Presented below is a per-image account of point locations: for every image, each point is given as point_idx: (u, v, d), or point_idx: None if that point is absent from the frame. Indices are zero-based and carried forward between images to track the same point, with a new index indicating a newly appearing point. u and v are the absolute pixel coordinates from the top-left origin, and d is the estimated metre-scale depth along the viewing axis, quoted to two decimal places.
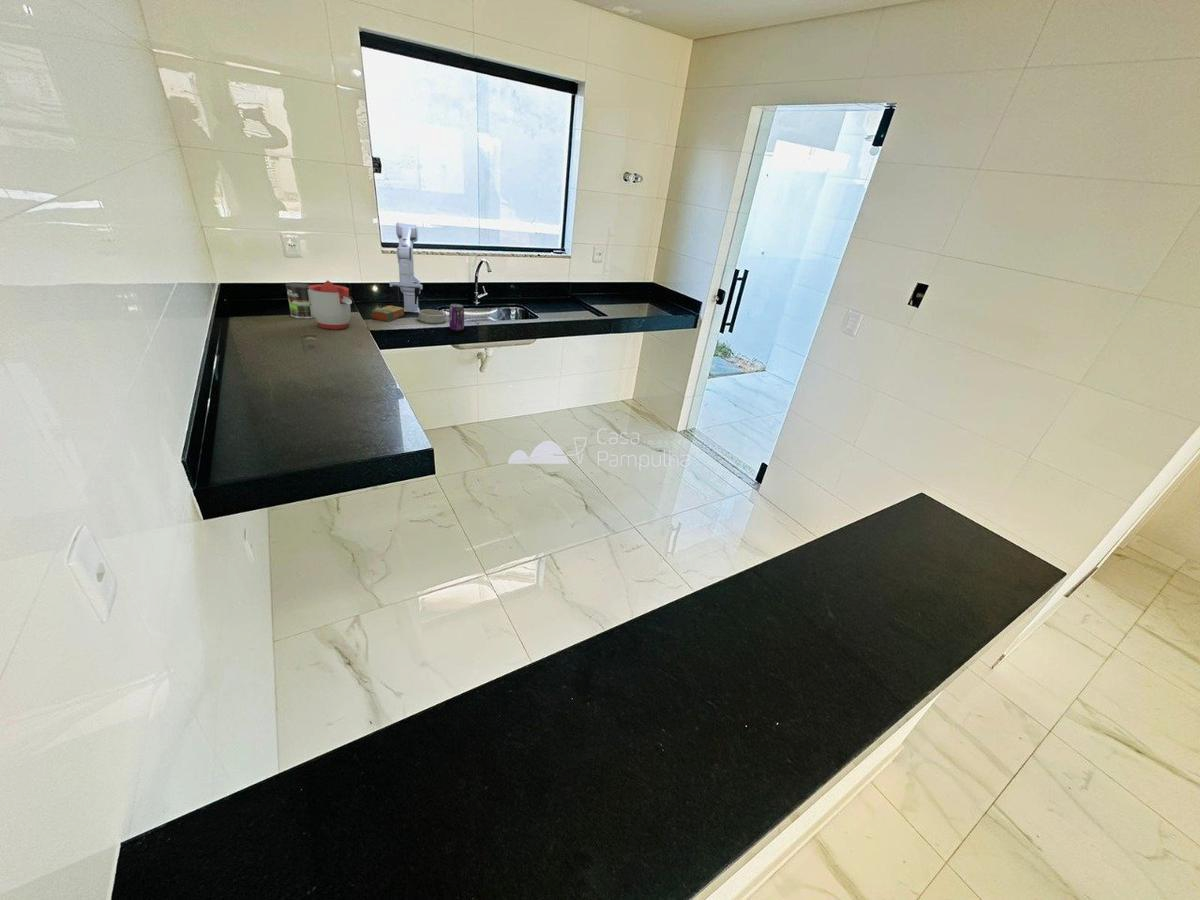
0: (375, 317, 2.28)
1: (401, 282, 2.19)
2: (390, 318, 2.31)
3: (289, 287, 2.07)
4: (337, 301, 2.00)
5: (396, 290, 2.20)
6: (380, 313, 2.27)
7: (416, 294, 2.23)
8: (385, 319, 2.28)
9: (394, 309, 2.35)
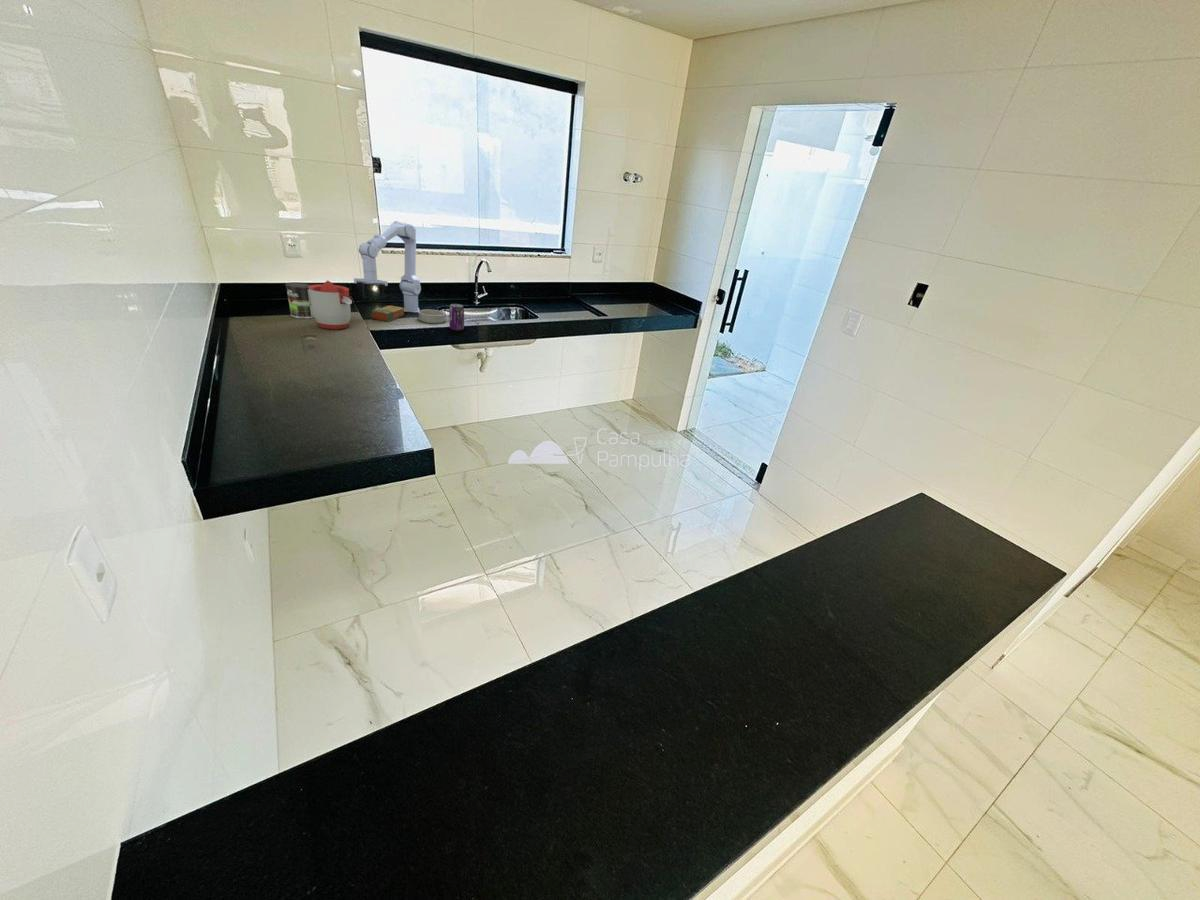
0: (375, 317, 2.28)
1: (365, 278, 2.21)
2: (390, 318, 2.31)
3: (289, 287, 2.07)
4: (337, 301, 2.00)
5: (360, 286, 2.21)
6: (380, 313, 2.27)
7: (381, 290, 2.25)
8: (385, 319, 2.28)
9: (394, 309, 2.35)
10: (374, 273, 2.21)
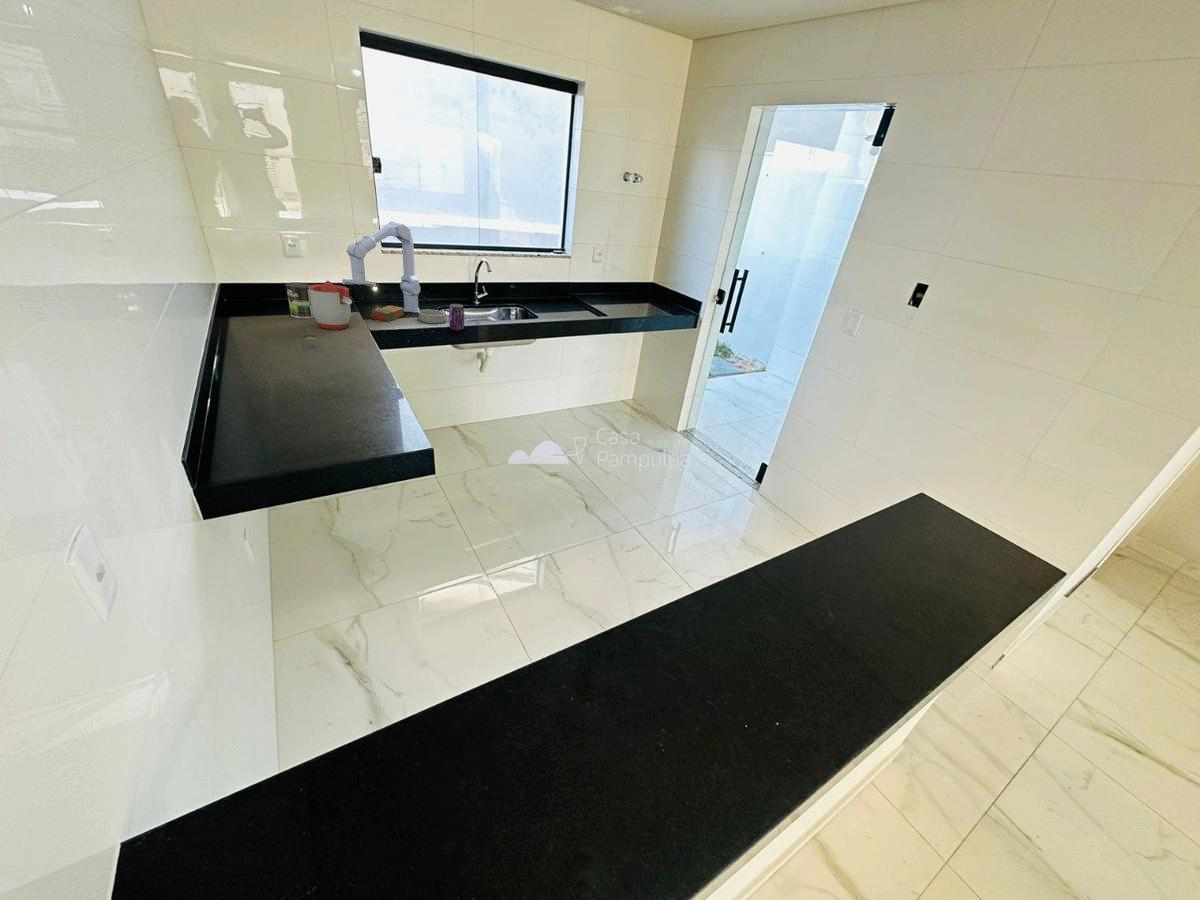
0: (375, 317, 2.28)
1: (353, 279, 2.22)
2: (390, 318, 2.31)
3: (289, 287, 2.07)
4: (337, 301, 2.00)
5: (357, 288, 2.23)
6: (380, 313, 2.27)
7: (361, 291, 2.25)
8: (385, 319, 2.28)
9: (394, 309, 2.35)
10: (362, 274, 2.22)
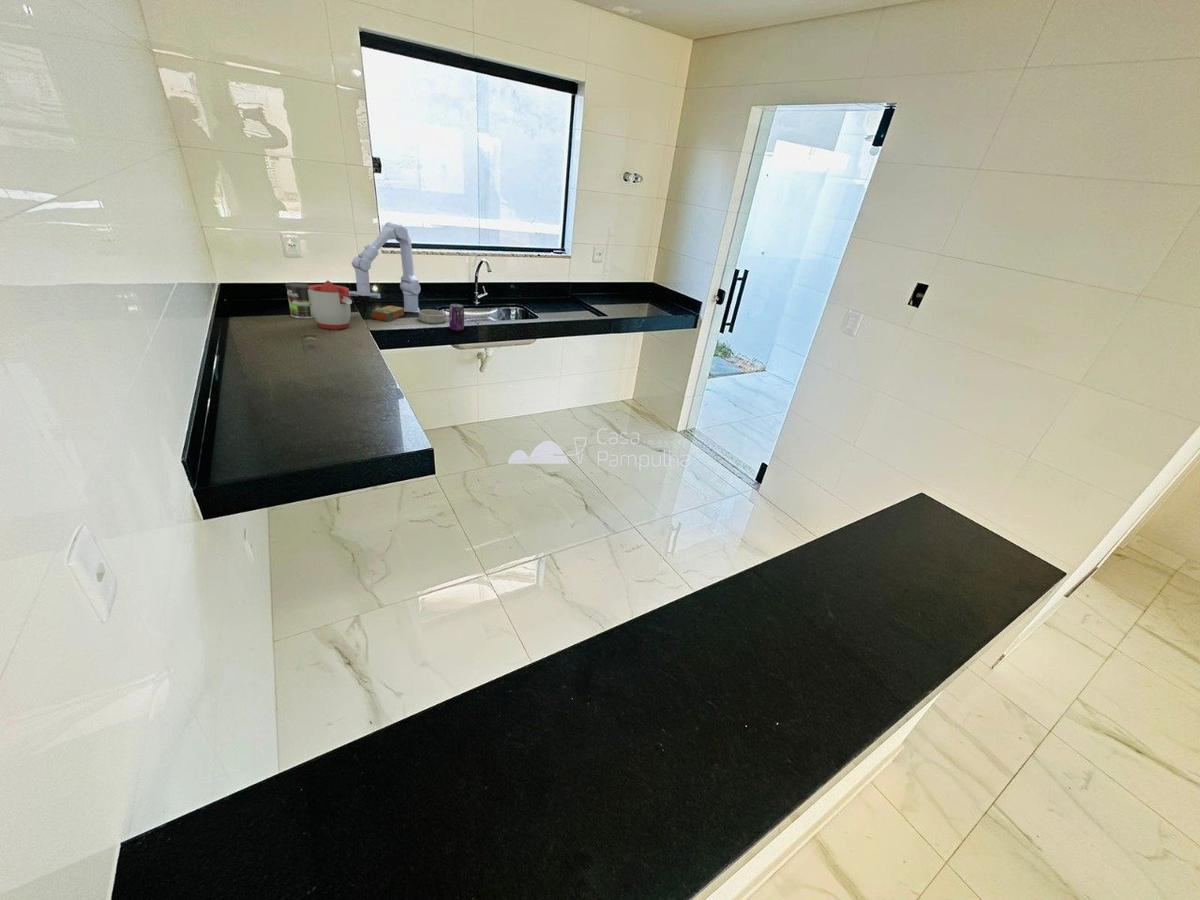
0: (375, 317, 2.28)
1: (358, 291, 2.25)
2: (390, 318, 2.31)
3: (289, 287, 2.07)
4: (337, 301, 2.00)
5: (362, 300, 2.26)
6: (380, 313, 2.27)
7: (366, 302, 2.28)
8: (385, 319, 2.28)
9: (394, 309, 2.35)
10: (367, 286, 2.25)
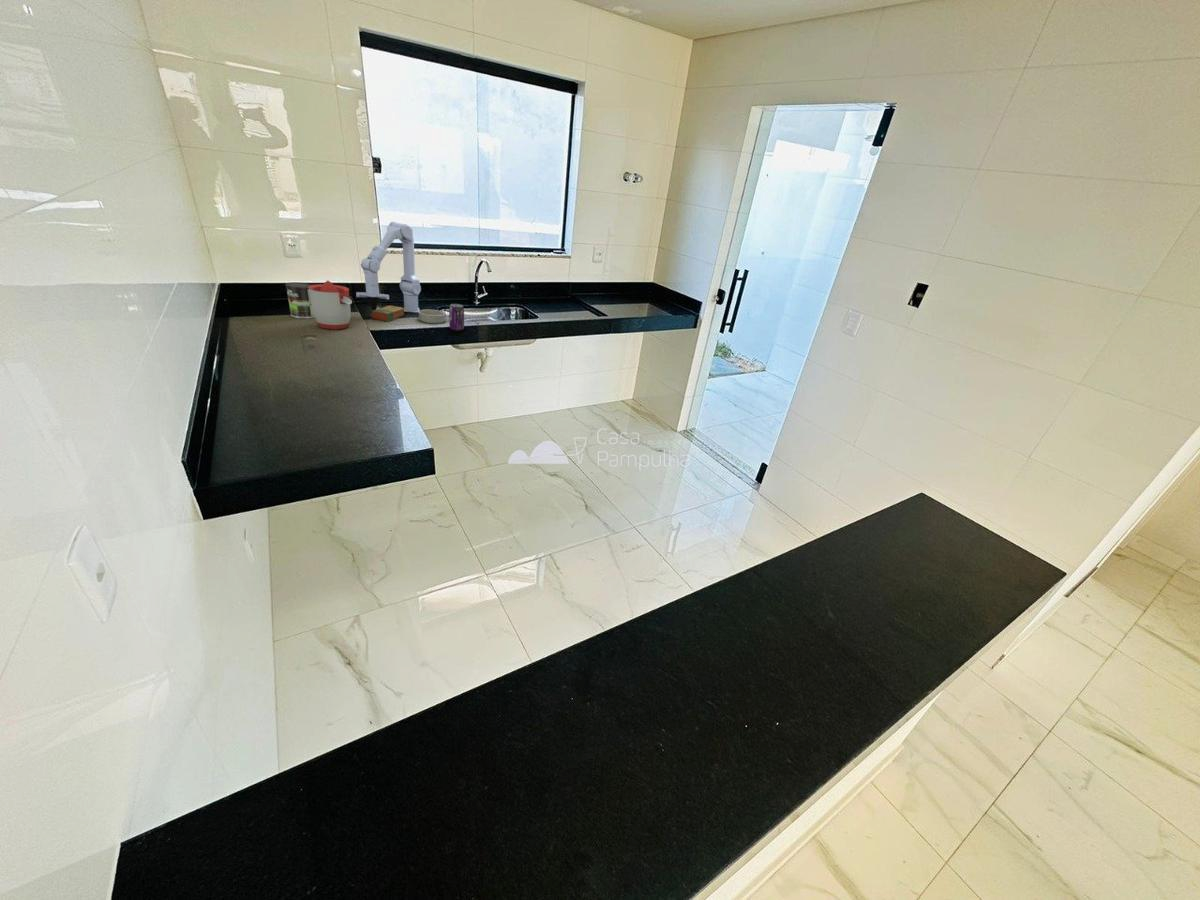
0: (375, 317, 2.28)
1: (367, 292, 2.26)
2: (390, 318, 2.31)
3: (289, 287, 2.07)
4: (337, 301, 2.00)
5: (371, 301, 2.28)
6: (380, 313, 2.27)
7: (375, 303, 2.29)
8: (385, 319, 2.28)
9: (394, 309, 2.35)
10: (376, 287, 2.26)
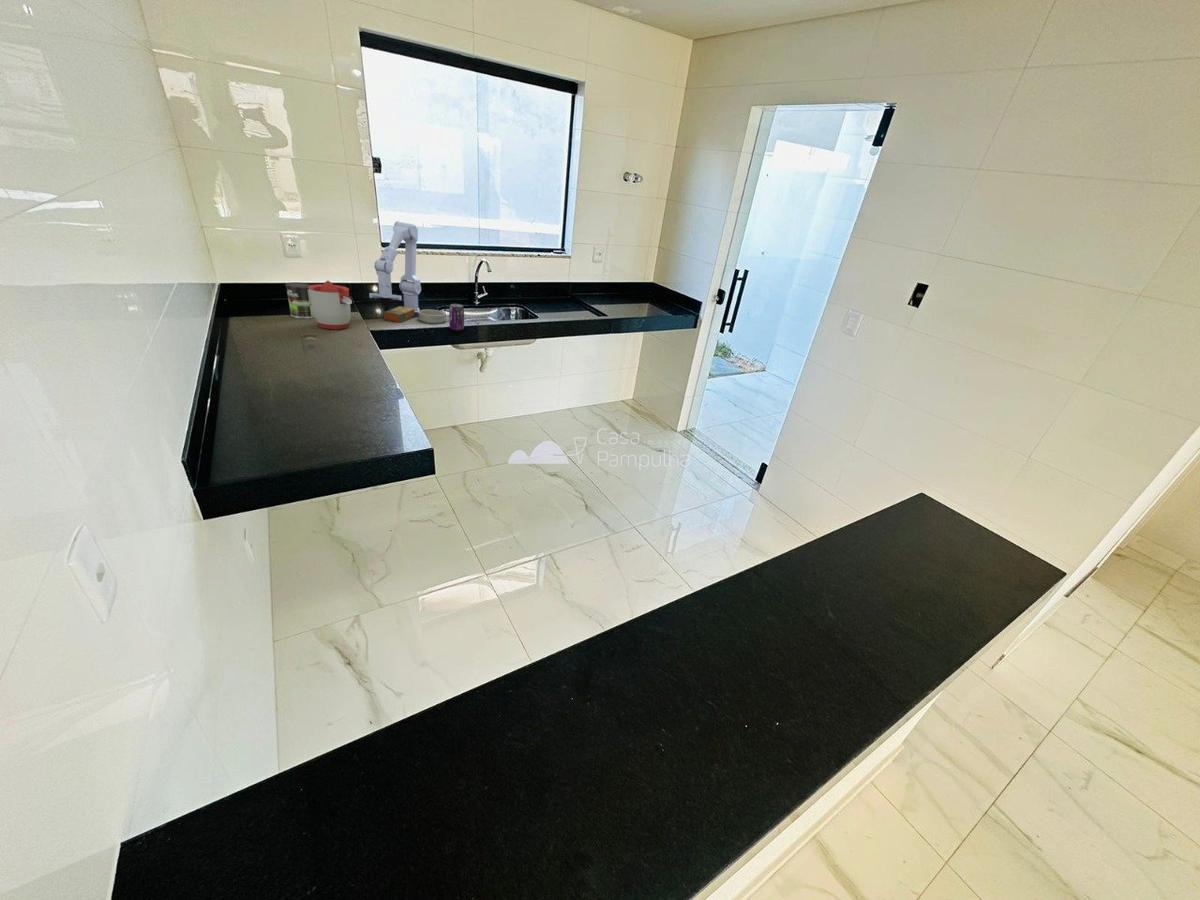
0: (387, 318, 2.30)
1: (380, 293, 2.28)
2: (402, 319, 2.32)
3: (289, 287, 2.07)
4: (337, 301, 2.00)
5: (384, 302, 2.30)
6: (392, 314, 2.29)
7: (387, 304, 2.31)
8: (397, 320, 2.30)
9: (405, 310, 2.37)
10: (389, 288, 2.28)
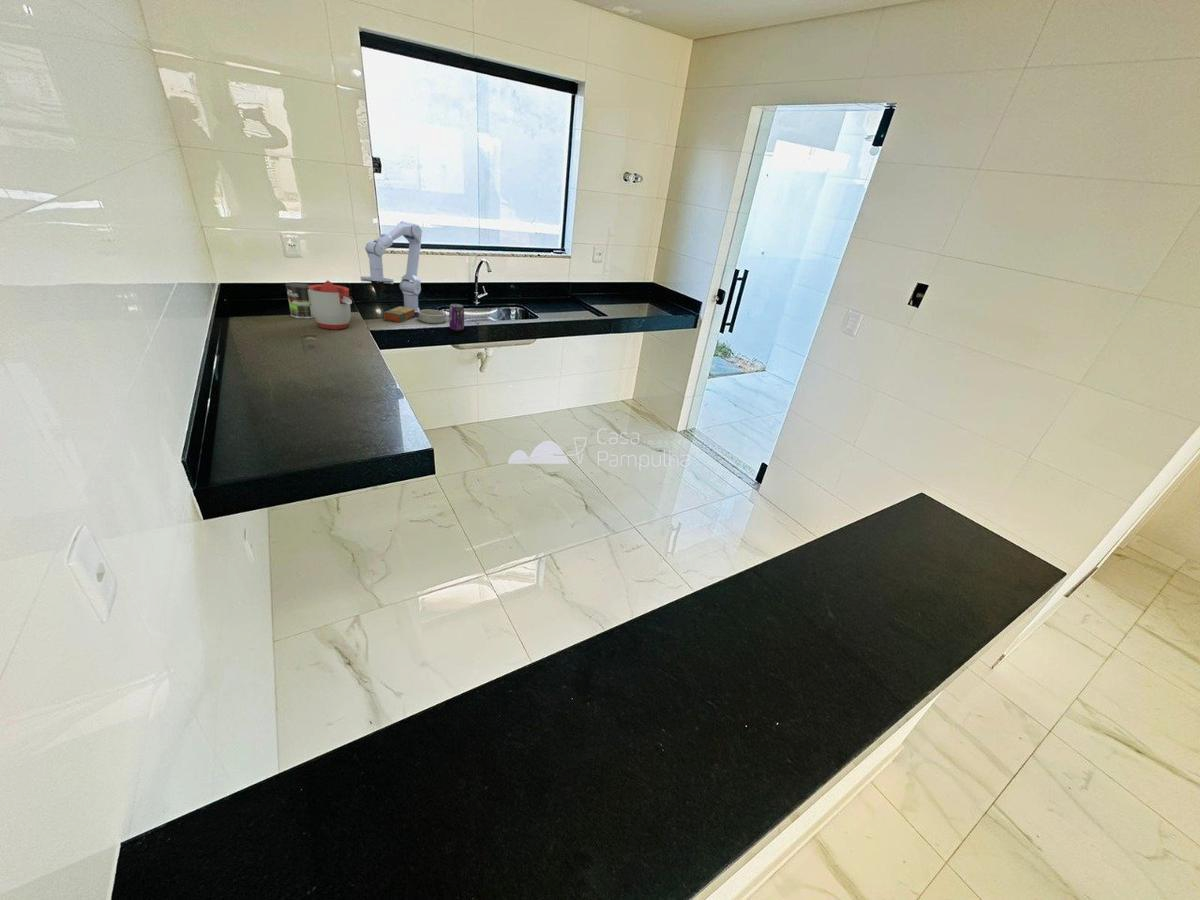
0: (387, 318, 2.30)
1: (372, 277, 2.24)
2: (402, 319, 2.32)
3: (289, 287, 2.07)
4: (337, 301, 2.00)
5: (375, 285, 2.26)
6: (392, 314, 2.29)
7: (379, 288, 2.27)
8: (398, 320, 2.30)
9: (405, 310, 2.37)
10: (380, 271, 2.24)
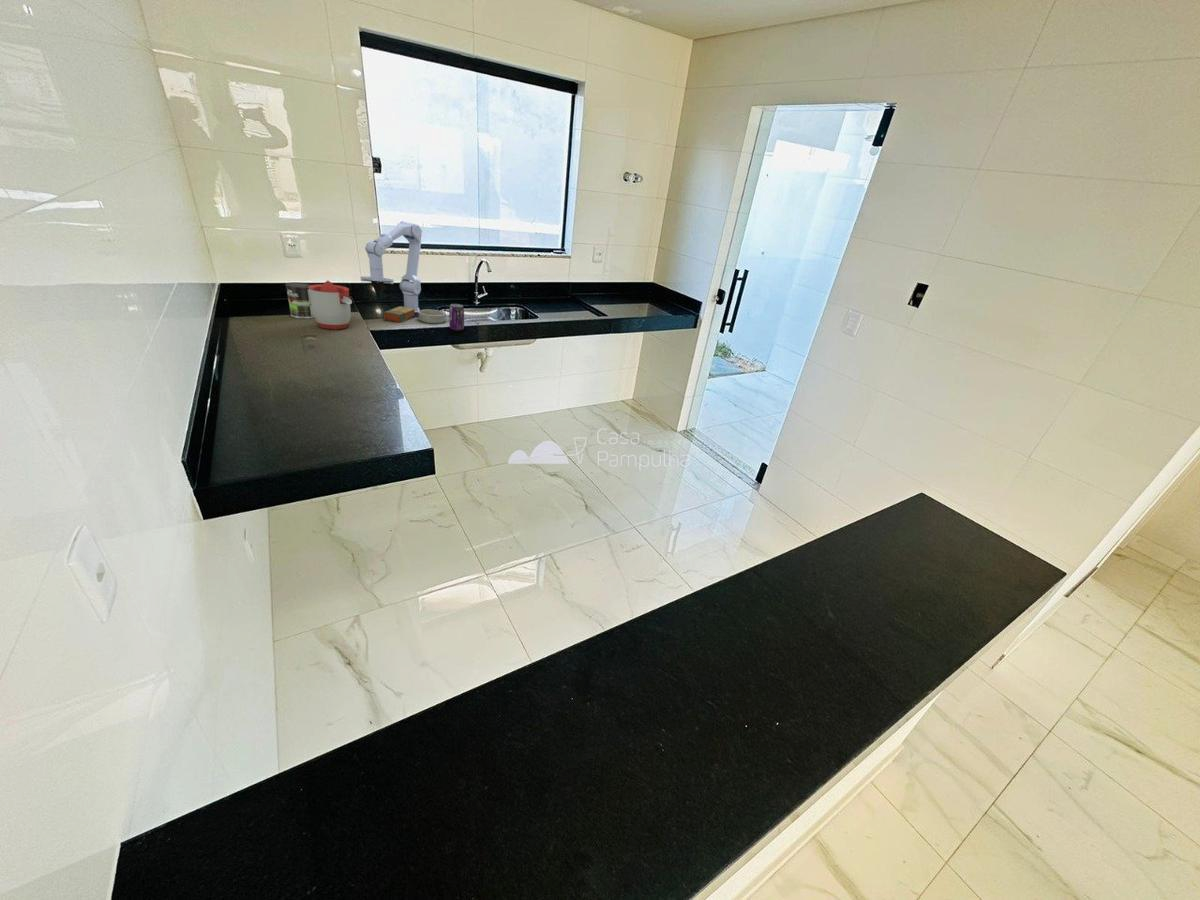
0: (387, 318, 2.30)
1: (372, 277, 2.24)
2: (402, 319, 2.32)
3: (289, 287, 2.07)
4: (337, 301, 2.00)
5: (375, 285, 2.26)
6: (392, 314, 2.29)
7: (379, 288, 2.27)
8: (398, 320, 2.30)
9: (405, 310, 2.37)
10: (380, 271, 2.24)
